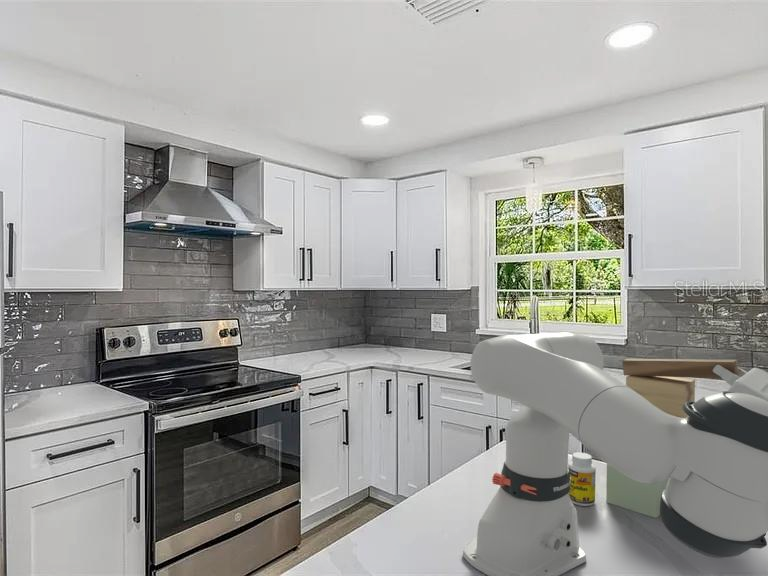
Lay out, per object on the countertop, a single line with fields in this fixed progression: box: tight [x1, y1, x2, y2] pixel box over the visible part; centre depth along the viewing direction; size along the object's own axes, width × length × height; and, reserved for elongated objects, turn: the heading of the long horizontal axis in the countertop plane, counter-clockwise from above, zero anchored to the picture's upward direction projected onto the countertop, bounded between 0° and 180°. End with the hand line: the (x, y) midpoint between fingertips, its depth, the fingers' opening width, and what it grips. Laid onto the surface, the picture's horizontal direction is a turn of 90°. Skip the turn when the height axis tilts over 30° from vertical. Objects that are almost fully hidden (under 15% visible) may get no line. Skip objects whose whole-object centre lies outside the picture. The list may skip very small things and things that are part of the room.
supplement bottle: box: [568, 451, 597, 507], centre depth 109 cm, size 6×6×10 cm
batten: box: [621, 358, 739, 380], centre depth 111 cm, size 4×22×4 cm, turn 45°
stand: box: [625, 375, 696, 482], centre depth 114 cm, size 8×12×26 cm, turn 44°
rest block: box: [605, 463, 668, 519], centre depth 107 cm, size 7×10×19 cm
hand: (717, 365), depth 106 cm, fingers closed on batten, 3 cm apart
